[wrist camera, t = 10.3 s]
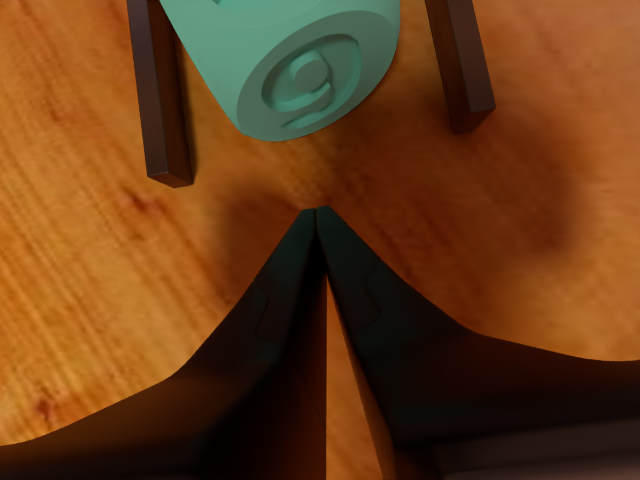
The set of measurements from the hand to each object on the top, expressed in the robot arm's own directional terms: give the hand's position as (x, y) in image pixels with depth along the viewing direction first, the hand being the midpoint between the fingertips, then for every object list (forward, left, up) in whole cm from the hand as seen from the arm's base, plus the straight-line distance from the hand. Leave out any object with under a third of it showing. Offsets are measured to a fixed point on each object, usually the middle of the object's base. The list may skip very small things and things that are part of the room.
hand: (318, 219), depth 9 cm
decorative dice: (+1, +10, -8) cm, 13 cm away
